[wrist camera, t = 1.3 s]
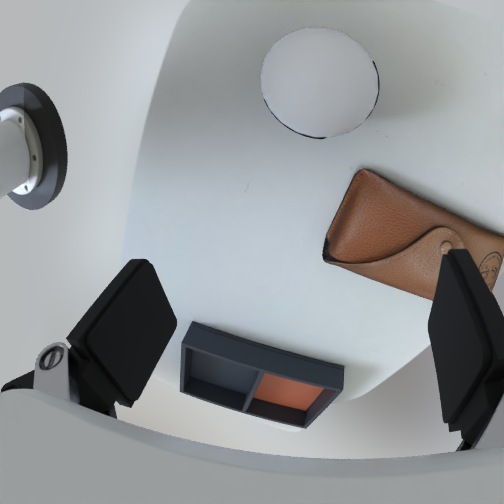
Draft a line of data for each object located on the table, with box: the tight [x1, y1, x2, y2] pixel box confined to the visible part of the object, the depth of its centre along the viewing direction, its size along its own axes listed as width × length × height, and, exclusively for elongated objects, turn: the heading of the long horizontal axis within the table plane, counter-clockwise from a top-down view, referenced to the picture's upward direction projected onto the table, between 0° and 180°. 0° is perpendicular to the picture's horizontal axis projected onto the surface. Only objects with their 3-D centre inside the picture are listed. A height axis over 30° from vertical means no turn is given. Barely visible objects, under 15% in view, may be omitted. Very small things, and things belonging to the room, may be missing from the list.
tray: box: [180, 322, 344, 429], centre depth 39 cm, size 20×13×4 cm, turn 79°
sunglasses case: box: [322, 168, 504, 301], centre depth 23 cm, size 18×7×7 cm, turn 78°
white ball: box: [260, 27, 390, 139], centre depth 17 cm, size 10×7×7 cm
